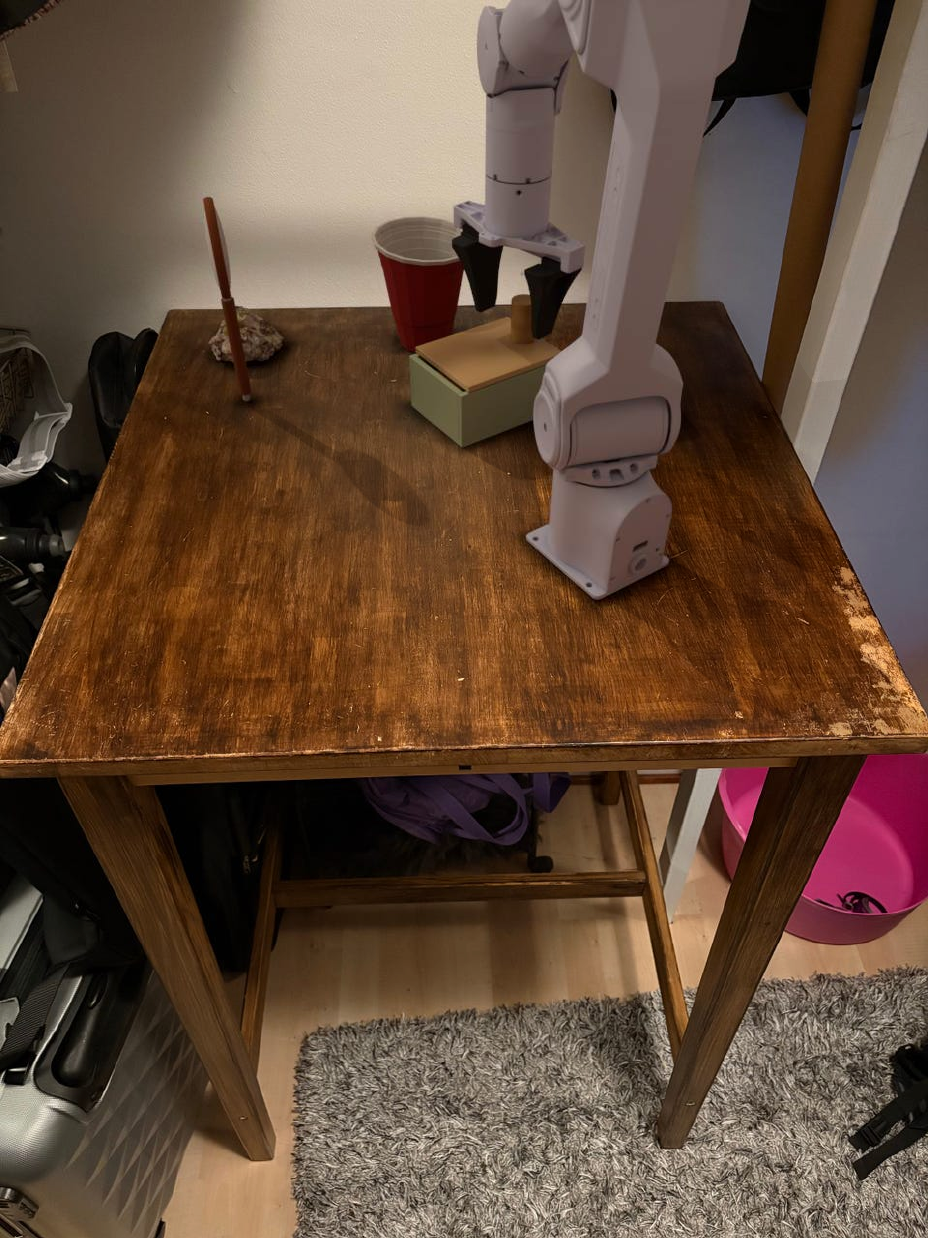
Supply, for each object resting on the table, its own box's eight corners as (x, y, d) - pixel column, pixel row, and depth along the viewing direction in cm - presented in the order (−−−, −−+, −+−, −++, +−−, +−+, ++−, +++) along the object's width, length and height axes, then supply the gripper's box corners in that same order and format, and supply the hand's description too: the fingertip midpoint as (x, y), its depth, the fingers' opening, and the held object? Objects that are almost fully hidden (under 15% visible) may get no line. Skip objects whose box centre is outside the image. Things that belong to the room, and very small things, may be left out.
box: (553, 412, 91) (557, 361, 87) (461, 448, 87) (461, 396, 83) (500, 373, 97) (501, 324, 93) (411, 405, 92) (408, 355, 88)
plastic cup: (455, 373, 97) (453, 262, 88) (363, 356, 100) (353, 247, 91) (488, 327, 104) (490, 221, 96) (402, 313, 107) (396, 208, 98)
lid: (563, 358, 88) (567, 313, 84) (468, 392, 83) (468, 346, 80) (507, 321, 93) (509, 277, 90) (415, 352, 89) (413, 307, 85)
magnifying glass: (235, 381, 96) (195, 183, 82) (252, 378, 96) (214, 181, 82) (242, 424, 90) (200, 219, 76) (259, 422, 90) (221, 216, 76)
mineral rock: (289, 342, 97) (211, 331, 94) (283, 380, 100) (208, 370, 97) (280, 301, 105) (208, 290, 102) (275, 337, 107) (205, 327, 105)
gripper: (427, 163, 80) (432, 309, 89) (549, 207, 72) (540, 362, 82) (484, 144, 83) (483, 287, 93) (606, 185, 76) (591, 336, 85)
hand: (513, 321), depth 87 cm, fingers open, 7 cm apart
